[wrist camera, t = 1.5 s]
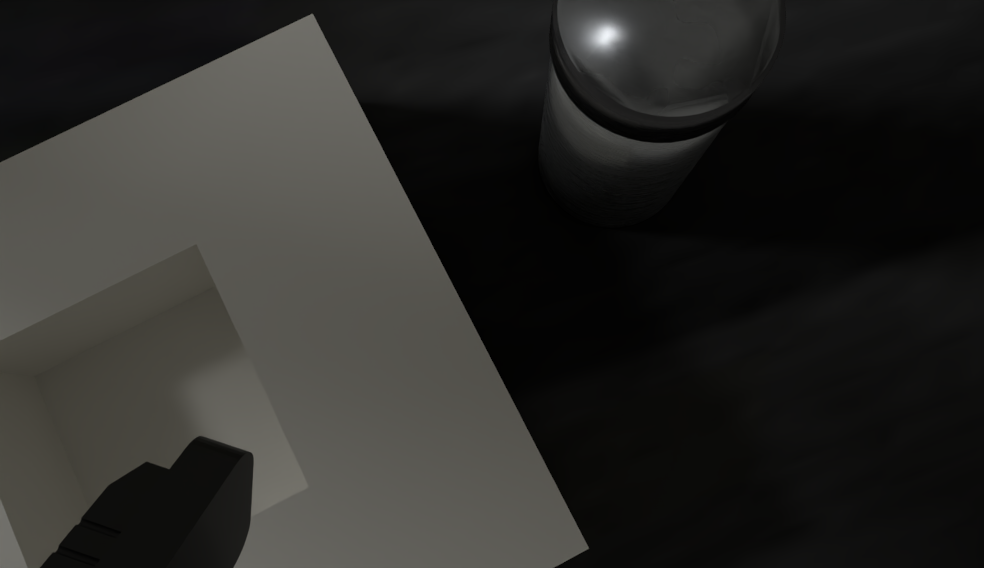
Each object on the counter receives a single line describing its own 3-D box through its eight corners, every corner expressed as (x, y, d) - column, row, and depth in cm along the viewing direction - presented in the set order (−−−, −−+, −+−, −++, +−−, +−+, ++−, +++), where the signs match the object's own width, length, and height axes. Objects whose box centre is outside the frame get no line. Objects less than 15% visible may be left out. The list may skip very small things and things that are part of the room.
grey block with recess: (-136, 336, 27) (-310, 310, 22) (351, 99, 29) (312, 13, 23) (43, 804, 25) (-99, 921, 19) (568, 521, 26) (589, 548, 20)
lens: (508, 126, 29) (512, -34, 19) (640, 61, 29) (711, -131, 19) (579, 256, 28) (623, 161, 18) (714, 187, 28) (830, 56, 18)
